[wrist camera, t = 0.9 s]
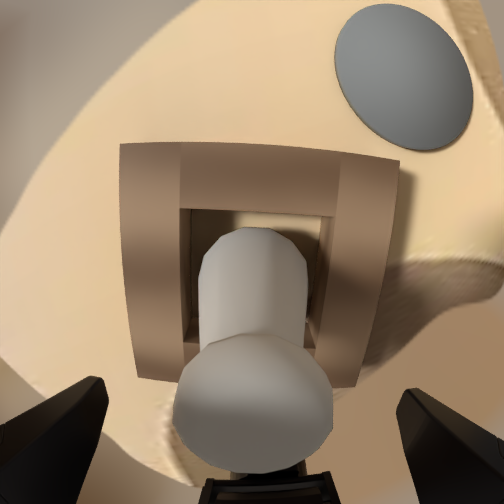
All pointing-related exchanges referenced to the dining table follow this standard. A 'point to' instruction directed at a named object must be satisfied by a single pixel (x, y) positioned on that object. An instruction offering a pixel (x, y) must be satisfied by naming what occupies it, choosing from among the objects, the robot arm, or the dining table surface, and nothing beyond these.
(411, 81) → the slate coaster
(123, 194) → the walnut frame
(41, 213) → the dining table surface
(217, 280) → the salt shaker
